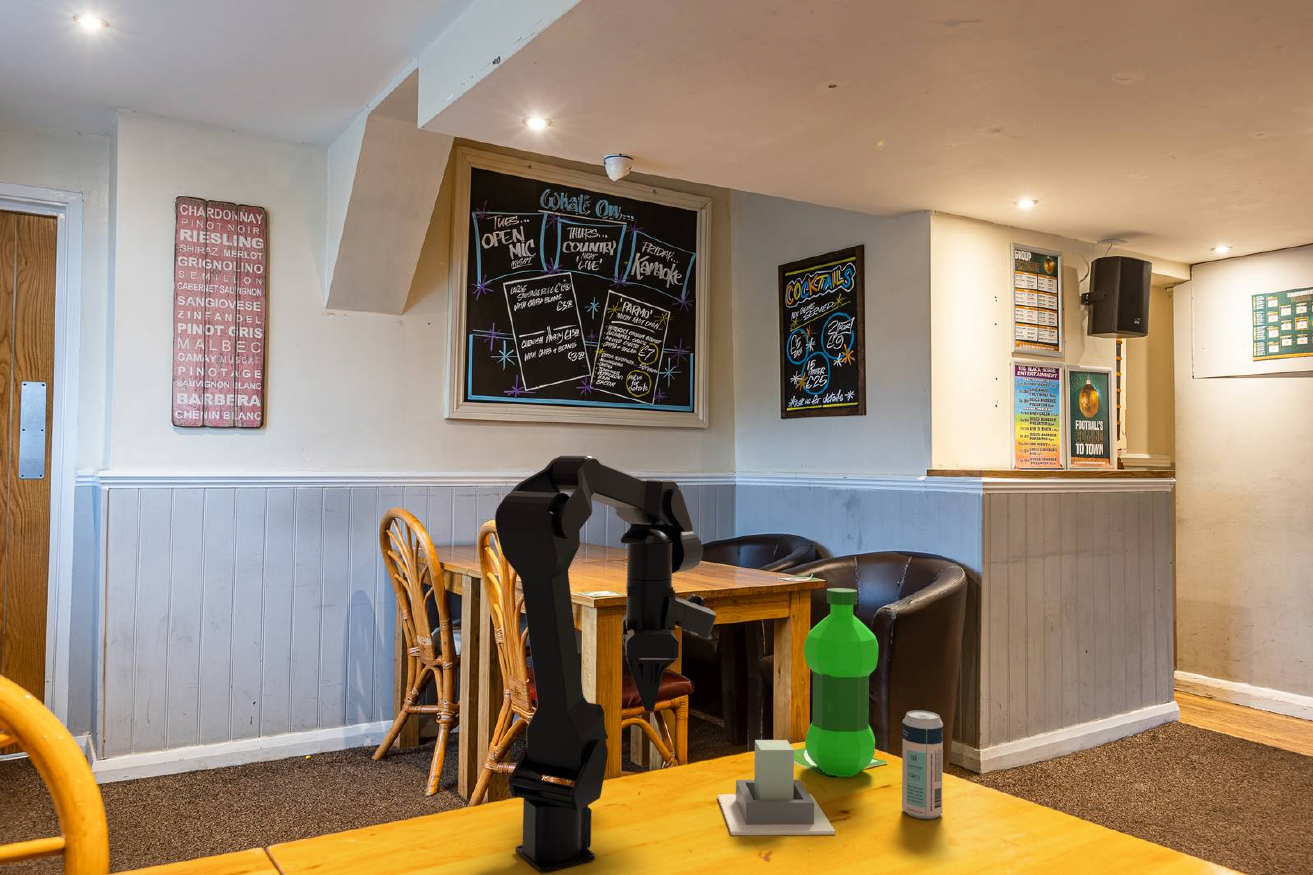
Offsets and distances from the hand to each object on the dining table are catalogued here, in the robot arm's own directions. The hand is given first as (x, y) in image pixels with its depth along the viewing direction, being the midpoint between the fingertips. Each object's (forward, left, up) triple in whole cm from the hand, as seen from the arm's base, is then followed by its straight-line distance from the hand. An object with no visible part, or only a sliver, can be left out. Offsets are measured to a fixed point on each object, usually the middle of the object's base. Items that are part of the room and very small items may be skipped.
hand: (647, 701), depth 118 cm
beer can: (+26, -22, -12) cm, 36 cm away
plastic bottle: (+29, -5, -12) cm, 32 cm away
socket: (+10, -13, -12) cm, 20 cm away
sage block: (+10, -13, -12) cm, 20 cm away
